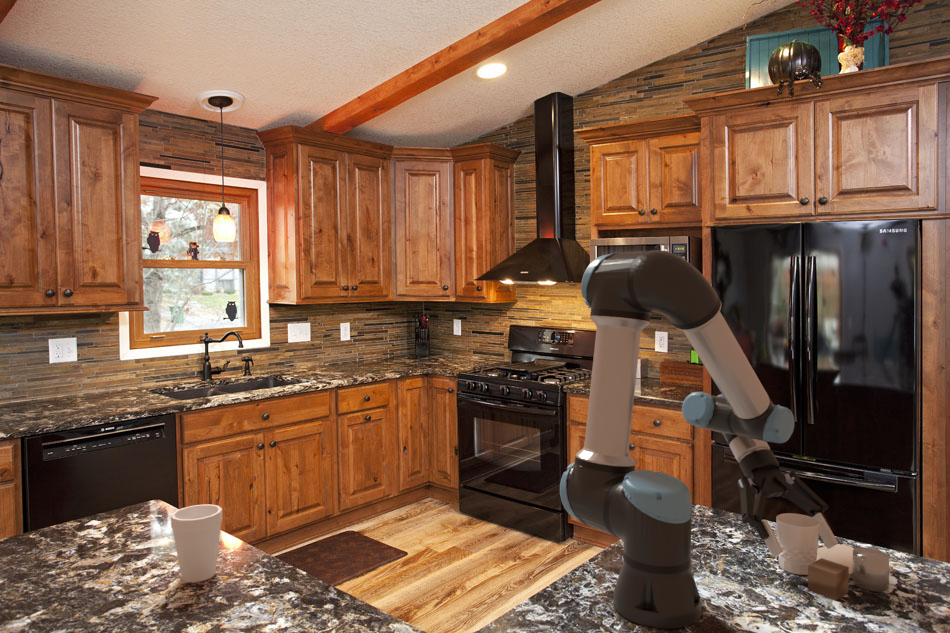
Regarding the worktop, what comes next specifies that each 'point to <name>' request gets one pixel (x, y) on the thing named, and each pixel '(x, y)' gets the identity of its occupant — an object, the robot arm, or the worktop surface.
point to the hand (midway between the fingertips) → (805, 550)
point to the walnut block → (828, 579)
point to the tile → (840, 556)
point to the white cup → (797, 542)
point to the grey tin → (870, 569)
